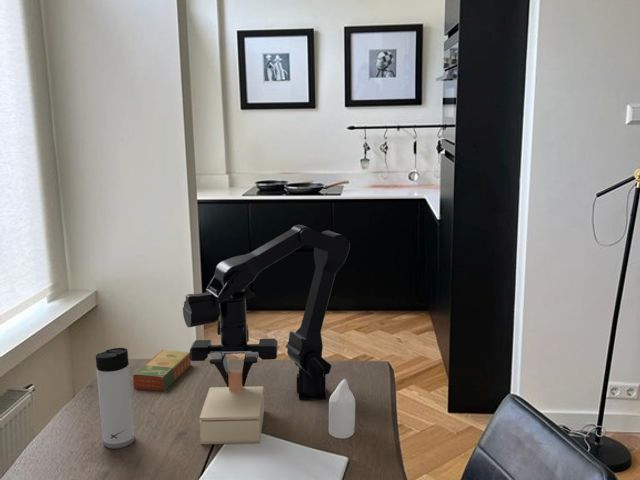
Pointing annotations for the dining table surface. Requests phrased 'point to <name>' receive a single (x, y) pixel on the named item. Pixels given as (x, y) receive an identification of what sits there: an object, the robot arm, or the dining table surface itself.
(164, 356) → the carton
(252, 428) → the kraft box
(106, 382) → the travel mug
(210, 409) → the lid panel
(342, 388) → the white pointed cylinder
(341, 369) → the dining table surface
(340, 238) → the robot arm
